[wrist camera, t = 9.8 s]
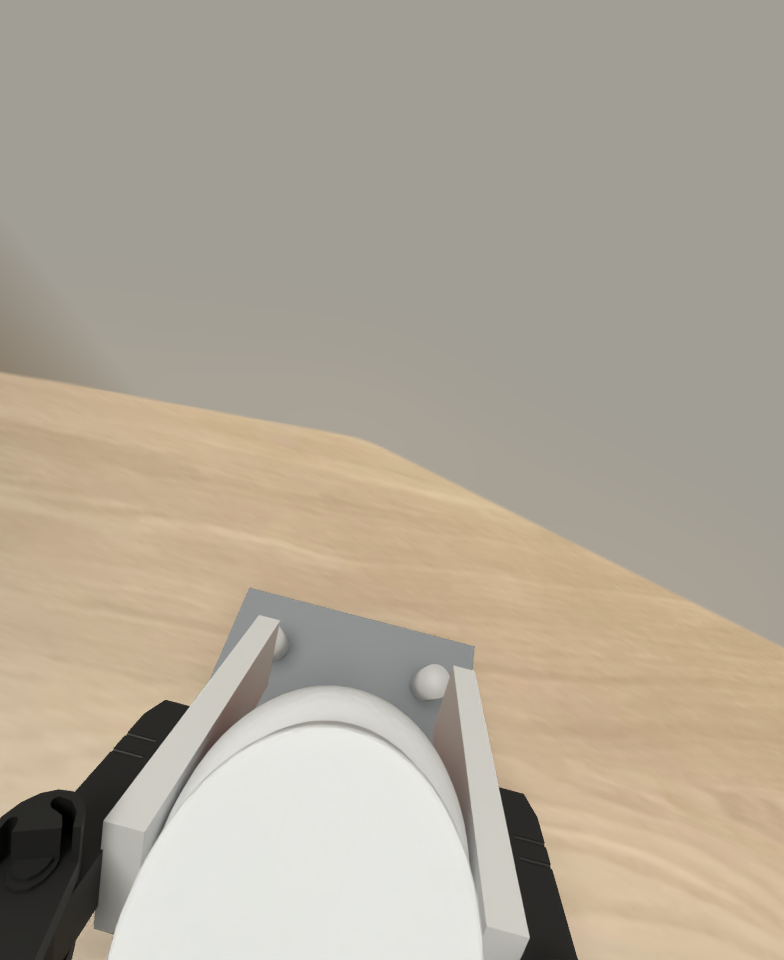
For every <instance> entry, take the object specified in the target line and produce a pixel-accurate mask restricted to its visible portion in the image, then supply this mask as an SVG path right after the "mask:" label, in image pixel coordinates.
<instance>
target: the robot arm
mask: <svg viewBox="0 0 784 960" xmlns="http://www.w3.org/2000/svg"><path fill="white" fill-rule="evenodd" d="M279 624H280V620H277V619H273V618H269V617H265V616H261V615H259V616H258V617H257V618H256V620H255V621H254V622H253V624H252V625H251V626H250V628H249V629H248V630H247V632H246V633H245V634H244V636H243V637H242V638H241V640H240V641H239V642H238V644H237V645H236V646H235V648H234V649H233V650H232V652H231V653H230V654H229V655H228V657H227V658H226V659H225V661H224V662H223V663H222V665H221V666H220V667H219V669H218V670H217V671H216V673H215V674H214V675H213V677H212V678H211V679H210V681H209V682H208V683H207V685H206V686H205V687H204V689H203V690H202V691H201V693H200V694H199V695H198V696H197V698H196V699H195V700H194V702H193V703H192V704H191V706H187V705H183V704H179V703H175V702H172V701H168V700H165V701H163V702H161V703H160V704H158V705H157V706H155V707H154V708H152V709H151V710H149V711H147V712H146V713H144V715H143V716H142V717H141V718H140V719H139V720H138V721H137V722H136V724H135V725H134V726H133V727H132V728H131V729H130V730H129V731H128V734H127V735H126V736H124V737H123V738H122V739H121V740H120V742H119V743H118V744H117V745H116V746H115V747H114V750H113V751H112V752H110V753H109V754H108V755H107V756H106V757H105V759H104V760H103V761H102V762H101V763H100V764H99V765H98V766H97V768H96V769H95V770H94V771H93V772H92V773H91V774H90V775H89V777H88V778H87V779H86V780H85V781H84V782H83V783H82V784H81V786H80V787H79V788H78V789H77V790H76V791H75V792H74V791H67V790H54V791H49V792H44V793H40V794H38V795H36V796H34V797H31V798H29V799H27V800H25V801H23V802H21V803H19V804H18V805H17V806H15V807H14V808H13V809H11V810H10V811H9V812H7V813H6V814H5V815H3V816H2V817H1V818H0V960H72V956H73V951H74V947H75V942H76V939H77V938H78V936H79V934H80V933H81V931H82V930H83V928H84V927H85V925H86V923H87V922H88V920H89V919H90V917H91V916H92V914H93V913H94V911H95V918H94V929H97V930H100V931H104V932H108V933H111V934H114V933H115V928H116V925H117V923H118V920H119V917H120V914H121V912H122V910H123V907H124V905H125V902H126V900H127V898H128V895H129V893H130V891H131V888H132V886H133V883H134V881H135V879H136V877H137V874H138V872H139V870H140V868H141V866H142V865H143V863H144V861H145V859H146V857H147V855H148V853H149V852H150V850H151V849H152V847H153V845H154V844H155V842H156V840H157V839H158V837H159V835H160V834H161V832H162V830H163V828H164V825H165V823H166V821H167V818H168V816H169V814H170V812H171V810H172V808H173V806H174V804H175V802H176V800H177V799H178V797H179V795H180V793H181V792H182V790H183V788H184V787H185V785H186V783H187V782H188V780H189V778H190V777H191V775H192V773H193V772H194V770H195V769H196V767H197V766H198V765H199V763H200V762H201V761H202V759H203V758H204V756H205V755H206V754H207V752H208V751H209V750H210V749H211V748H212V747H213V745H214V744H215V743H216V742H217V741H218V740H219V739H220V737H221V736H222V735H223V734H224V733H225V732H226V731H228V730H229V729H230V728H231V727H232V726H233V725H234V724H235V723H236V722H238V721H239V720H240V719H241V718H243V717H244V716H245V715H247V714H248V713H250V712H251V711H252V710H254V709H255V708H256V706H257V704H258V702H259V701H260V699H261V697H262V695H263V693H264V691H265V689H266V688H267V685H268V680H269V675H270V670H271V665H272V660H273V655H274V650H275V644H276V639H277V634H278V629H279ZM433 742H434V748H435V750H436V751H437V753H438V755H439V756H440V758H441V760H442V762H443V764H444V766H445V768H446V770H447V772H448V774H449V777H450V779H451V782H452V784H453V787H454V789H455V792H456V795H457V798H458V801H459V805H460V808H461V812H462V816H463V820H464V824H465V830H466V836H467V843H468V852H469V863H470V868H471V872H472V876H473V880H474V884H475V888H476V893H477V898H478V904H479V912H480V919H481V927H482V935H483V953H484V960H578V958H577V955H576V952H575V948H574V945H573V941H572V938H571V934H570V931H569V927H568V924H567V920H566V917H565V913H564V910H563V906H562V903H561V899H560V895H559V892H558V888H557V885H556V881H555V878H554V874H553V871H552V869H551V868H550V860H549V857H548V853H547V850H546V847H544V839H543V836H542V832H541V829H540V825H539V822H538V818H537V816H536V814H535V813H534V811H533V809H532V807H531V806H530V804H529V802H528V801H527V799H526V797H525V796H524V794H522V793H518V792H514V791H511V790H507V789H503V788H499V786H498V781H497V776H496V772H495V767H494V762H493V757H492V752H491V747H490V742H489V738H488V733H487V728H486V723H485V718H484V713H483V708H482V704H481V699H480V694H479V689H478V684H477V679H476V674H475V671H473V670H469V669H465V668H461V667H457V666H454V665H453V668H452V671H451V674H450V677H449V681H448V684H447V687H446V690H445V693H444V696H443V700H442V703H441V706H440V709H439V712H438V715H437V719H436V722H435V725H434V728H433Z"/></svg>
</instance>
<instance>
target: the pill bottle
mask: <svg viewBox="0 0 784 960" xmlns="http://www.w3.org/2000/svg"><path fill="white" fill-rule="evenodd" d="M107 960H484V953H483V935H482V927H481V919H480V912H479V904H478V898H477V893H476V888H475V884H474V880H473V876H472V872H471V868H470V863H469V852H468V843H467V836H466V830H465V824H464V820H463V816H462V812H461V808H460V805H459V801H458V798H457V795H456V792H455V789H454V787H453V784H452V782H451V779H450V777H449V774H448V772H447V770H446V768H445V766H444V764H443V762H442V760H441V758H440V756H439V755H438V753H437V751H436V750H435V748H434V747H433V745H432V744H431V742H430V741H429V739H428V738H427V737H426V735H425V734H424V733H423V732H422V731H421V729H420V728H419V727H418V726H417V725H416V724H415V723H414V722H413V721H412V720H411V719H410V718H409V717H408V716H407V715H405V714H404V713H403V712H402V711H400V710H399V709H398V708H396V707H395V706H394V705H392V704H391V703H389V702H387V701H385V700H383V699H381V698H380V697H378V696H375V695H373V694H371V693H368V692H365V691H362V690H358V689H354V688H351V687H343V686H313V687H306V688H301V689H297V690H294V691H291V692H288V693H285V694H282V695H280V696H278V697H276V698H273V699H271V700H269V701H268V702H266V703H264V704H262V705H260V706H258V707H257V708H255V709H254V710H252V711H251V712H250V713H248V714H247V715H245V716H244V717H243V718H241V719H240V720H239V721H238V722H236V723H235V724H234V725H233V726H232V727H231V728H230V729H229V730H228V731H226V732H225V733H224V734H223V735H222V736H221V737H220V739H219V740H218V741H217V742H216V743H215V744H214V745H213V747H212V748H211V749H210V750H209V751H208V752H207V754H206V755H205V756H204V758H203V759H202V761H201V762H200V763H199V765H198V766H197V767H196V769H195V770H194V772H193V773H192V775H191V777H190V778H189V780H188V782H187V783H186V785H185V787H184V788H183V790H182V792H181V793H180V795H179V797H178V799H177V800H176V802H175V804H174V806H173V808H172V810H171V812H170V814H169V816H168V818H167V821H166V823H165V825H164V828H163V830H162V832H161V834H160V835H159V837H158V839H157V840H156V842H155V844H154V845H153V847H152V849H151V850H150V852H149V853H148V855H147V857H146V859H145V861H144V863H143V865H142V866H141V868H140V870H139V872H138V874H137V877H136V879H135V881H134V883H133V886H132V888H131V891H130V893H129V895H128V898H127V900H126V902H125V905H124V907H123V910H122V912H121V914H120V917H119V920H118V923H117V925H116V928H115V933H114V936H113V940H112V943H111V947H110V950H109V954H108V957H107Z"/></svg>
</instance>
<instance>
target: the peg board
mask: <svg viewBox="0 0 784 960" xmlns="http://www.w3.org/2000/svg"><path fill="white" fill-rule="evenodd" d="M259 615H261V616H265V617H269V618H273V619H277V620H280V624H279V629H278V634H277V639H276V644H275V650H274V655H273V660H272V665H271V670H270V675H269V680H268V685H267V688H266V689H265V691H264V693H263V695H262V697H261V699H260V701H259V702H258V704H257V706H256V708H257V707H258V706H260V705H262V704H264V703H266V702H268V701H269V700H271V699H273V698H276V697H278V696H280V695H282V694H285V693H288V692H291V691H294V690H297V689H301V688H306V687H313V686H343V687H351V688H354V689H358V690H362V691H365V692H368V693H371V694H373V695H375V696H378V697H380V698H381V699H383V700H385V701H387V702H389V703H391V704H392V705H394V706H395V707H396V708H398V709H399V710H400V711H402V712H403V713H404V714H405V715H407V716H408V717H409V718H410V719H411V720H412V721H413V722H414V723H415V724H416V725H417V726H418V727H419V728H420V729H421V731H422V732H423V733H424V734H425V735H426V737H427V738H428V739H429V741H430V742H431V744H432V745H433V747H434V742H433V728H434V725H435V722H436V719H437V715H438V712H439V709H440V706H441V703H442V700H443V696H444V693H445V690H446V687H447V684H448V681H449V677H450V674H451V671H452V668H453V665H454V666H457V667H461V668H465V669H469V670H472V668H473V657H474V646H471V645H467V644H463V643H459V642H455V641H452V640H448V639H444V638H440V637H436V636H432V635H428V634H425V633H421V632H417V631H413V630H409V629H405V628H402V627H398V626H394V625H390V624H386V623H382V622H379V621H375V620H371V619H367V618H363V617H359V616H356V615H352V614H348V613H344V612H340V611H336V610H333V609H329V608H325V607H321V606H317V605H313V604H310V603H306V602H302V601H298V600H294V599H290V598H287V597H283V596H279V595H275V594H271V593H267V592H264V591H260V590H256V589H252V588H249V590H248V593H247V595H246V597H245V599H244V602H243V604H242V606H241V609H240V611H239V613H238V616H237V618H236V620H235V623H234V625H233V627H232V629H231V632H230V634H229V636H228V639H227V641H226V643H225V646H224V648H223V650H222V653H221V655H220V657H219V659H218V662H217V664H216V666H215V669H214V671H213V673H212V676H211V678H212V677H213V675H214V674H215V673H216V671H217V670H218V669H219V667H220V666H221V665H222V663H223V662H224V661H225V659H226V658H227V657H228V655H229V654H230V653H231V652H232V650H233V649H234V648H235V646H236V645H237V644H238V642H239V641H240V640H241V638H242V637H243V636H244V634H245V633H246V632H247V630H248V629H249V628H250V626H251V625H252V624H253V622H254V621H255V620H256V618H257V617H258V616H259ZM211 678H210V679H211ZM209 681H210V680H209Z"/></svg>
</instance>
